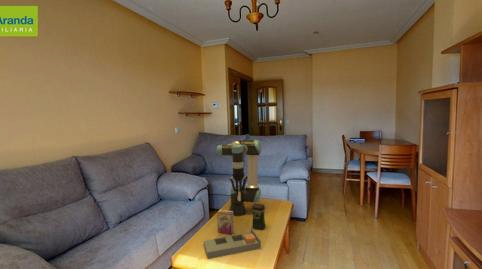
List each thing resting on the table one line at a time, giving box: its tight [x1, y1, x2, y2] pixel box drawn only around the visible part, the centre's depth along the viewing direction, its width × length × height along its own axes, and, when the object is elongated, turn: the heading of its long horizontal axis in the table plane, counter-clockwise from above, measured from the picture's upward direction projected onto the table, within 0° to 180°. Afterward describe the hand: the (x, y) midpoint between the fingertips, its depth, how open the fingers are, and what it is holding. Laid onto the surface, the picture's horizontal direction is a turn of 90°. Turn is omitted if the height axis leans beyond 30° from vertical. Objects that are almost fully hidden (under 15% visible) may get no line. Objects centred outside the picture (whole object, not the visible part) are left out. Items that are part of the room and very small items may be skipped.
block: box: [244, 234, 256, 244], centre depth 162 cm, size 6×6×4 cm
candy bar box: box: [216, 208, 235, 235], centre depth 180 cm, size 11×5×16 cm, turn 71°
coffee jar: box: [251, 203, 266, 230], centre depth 186 cm, size 10×8×19 cm
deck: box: [203, 227, 262, 260], centre depth 162 cm, size 17×35×6 cm, turn 107°
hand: (239, 200), depth 168 cm, fingers closed
